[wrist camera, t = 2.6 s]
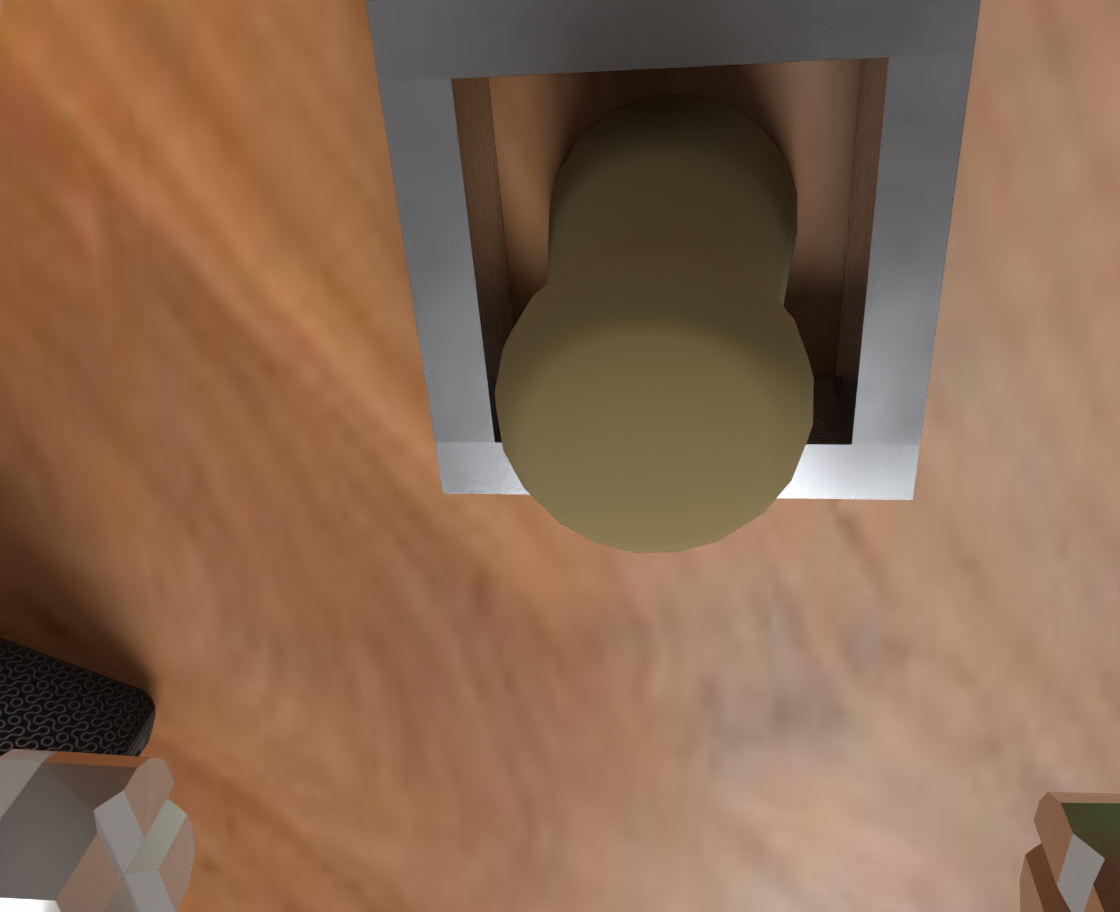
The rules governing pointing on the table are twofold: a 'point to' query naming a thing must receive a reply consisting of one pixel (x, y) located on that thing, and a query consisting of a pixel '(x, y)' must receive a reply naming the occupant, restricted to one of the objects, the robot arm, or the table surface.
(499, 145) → the table surface
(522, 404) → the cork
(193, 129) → the table surface
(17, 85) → the table surface
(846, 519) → the table surface
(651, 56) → the grey square tray
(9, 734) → the phone
